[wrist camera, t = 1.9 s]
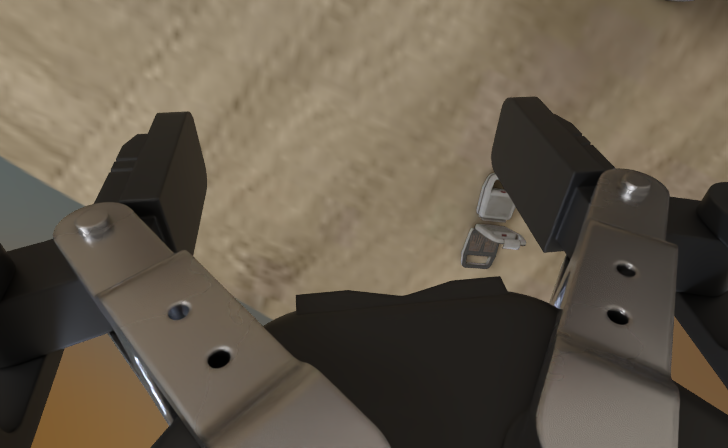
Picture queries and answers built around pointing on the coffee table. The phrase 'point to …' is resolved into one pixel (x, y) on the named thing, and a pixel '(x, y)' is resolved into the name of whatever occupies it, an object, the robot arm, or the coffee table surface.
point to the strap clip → (491, 226)
